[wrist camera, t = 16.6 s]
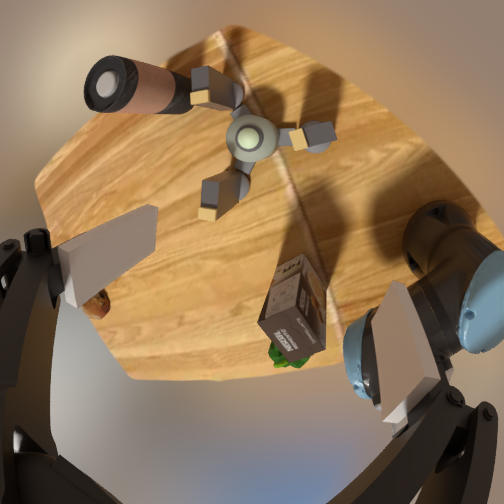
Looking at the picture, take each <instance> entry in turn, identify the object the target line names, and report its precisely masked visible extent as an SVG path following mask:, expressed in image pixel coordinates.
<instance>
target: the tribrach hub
mask: <svg viewBox="0 0 504 504" xmlns="http://www.w3.org/2000/svg"><path fill="white" fill-rule="evenodd" d="M230 115H231V116H232V118H233V119H234V121H233V122H232V123H231V125H230V126H229V128H228V130H227V134H226V143H227V147H228V149H229V151H230V152H231V153H232V155H233V156H234V157H236V158H237V161H236V163H235V165H234V167H235V168H237V169H239V170H241V171H243V172H245V173H247V174H250V173H251V171H252V169H253V167H254V165H255V163H256V161H259V160H262V159H265V158H267V157H269V156H271V155H272V154H274V153H275V152H276V150H277V149H278V147H279V146H293V144H292V141H291V138H290V135H289V132H290V131H294V130H295V128H284V129H278V128H277V127H276V126H275V124H274V123H273V122H271V121H270V120H268V119H265V118H262V117H259V116H256V115H253V114H252V113H251V112H250V110H249V109H248V107H247V106H246V105H245V104H243V105H242V106H240V107H239V108H237V109H236V110H235V111H233V112H232V113H230Z"/></svg>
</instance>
